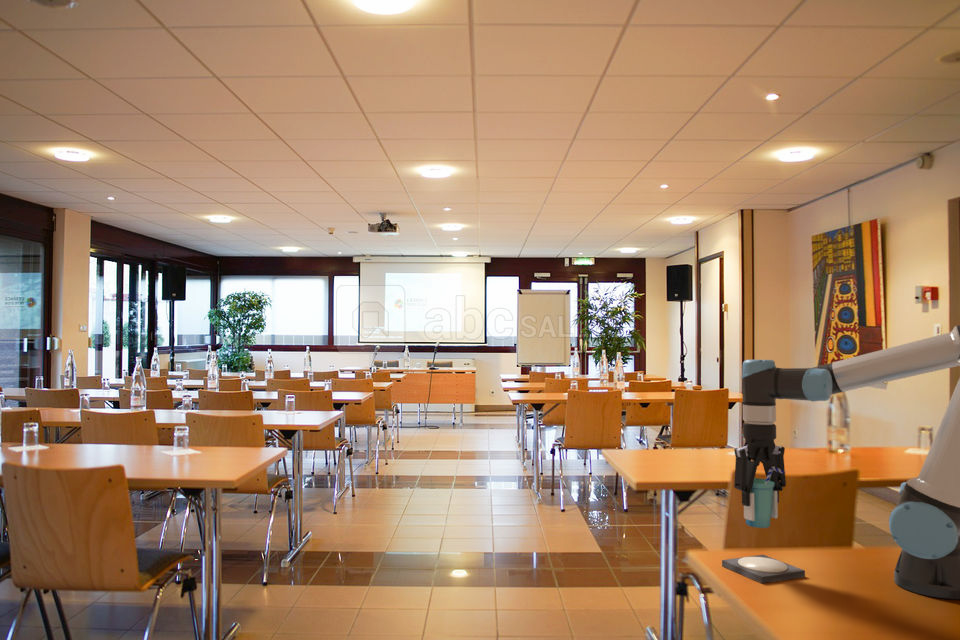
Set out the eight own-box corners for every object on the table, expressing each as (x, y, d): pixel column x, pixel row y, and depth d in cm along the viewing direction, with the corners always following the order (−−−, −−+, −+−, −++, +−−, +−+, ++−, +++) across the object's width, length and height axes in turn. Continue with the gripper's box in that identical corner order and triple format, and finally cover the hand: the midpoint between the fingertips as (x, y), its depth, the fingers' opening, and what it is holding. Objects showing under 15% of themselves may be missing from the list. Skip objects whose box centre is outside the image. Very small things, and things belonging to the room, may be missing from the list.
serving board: (805, 576, 153) (804, 569, 153) (761, 583, 149) (761, 575, 149) (763, 560, 165) (763, 553, 165) (722, 566, 161) (721, 558, 161)
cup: (797, 531, 153) (796, 467, 154) (774, 535, 150) (773, 469, 150) (749, 517, 166) (748, 458, 166) (726, 521, 162) (726, 460, 163)
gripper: (778, 419, 166) (779, 511, 165) (716, 422, 159) (717, 517, 158) (801, 422, 159) (803, 518, 157) (738, 425, 152) (740, 525, 151)
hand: (760, 517), depth 158 cm, fingers closed on cup, 6 cm apart
